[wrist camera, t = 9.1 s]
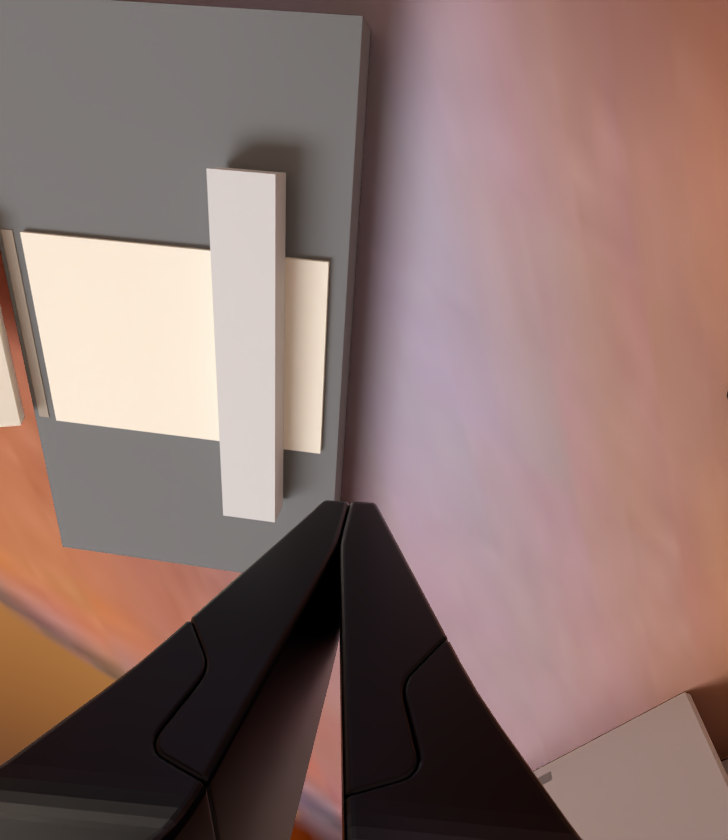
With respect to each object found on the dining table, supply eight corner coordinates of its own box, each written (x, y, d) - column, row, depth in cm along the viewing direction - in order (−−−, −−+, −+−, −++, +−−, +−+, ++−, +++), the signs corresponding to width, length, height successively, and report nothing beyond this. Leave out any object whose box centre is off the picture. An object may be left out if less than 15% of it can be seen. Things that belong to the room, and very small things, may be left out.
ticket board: (371, 30, 17) (355, 3, 14) (337, 554, 26) (322, 609, 23) (-5, 6, 18) (-97, -24, 15) (88, 520, 27) (42, 567, 24)
